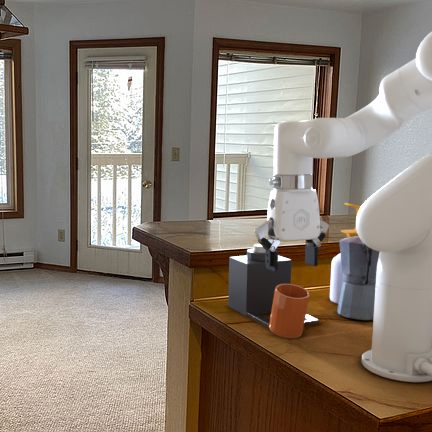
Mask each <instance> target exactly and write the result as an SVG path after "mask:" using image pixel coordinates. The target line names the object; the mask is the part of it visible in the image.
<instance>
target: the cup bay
mask: <svg viewBox="0 0 432 432" xmlns="http://www.w3.org/2000/svg"><path fill="white" fill-rule="evenodd" d="M245 317H247V318H248V319H250V320H251V321H254V322H256V323H257V324H259V325H261V326H263V327H265V328H266V329H268V330H270V328H269V323H270V318H267V317H265V316H263V315H262V314H258V313H256V312H254V311H253V312H246V316H245ZM317 325H320V319H318V318H316V317H314V316H311V315H309V314H307V313H306V318H305V323H304V327H309V326H317Z"/></svg>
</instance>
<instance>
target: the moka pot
mask: <svg viewBox="0 0 432 432" xmlns="http://www.w3.org/2000/svg"><path fill="white" fill-rule="evenodd" d="M339 250H340V253H341V266H342V272H343V280H344V282H343V284H342V290H341V294H340V299H339V304H337V308H336V309H337V310H336V312H337V314H338V316H339V315H340V316H341V317H344V318H346V319H352V320H357V321H373V319H374V303H375V287H376V272H377V263H378V257H379V253H380V252H379V251H376V250H373V249H371V248H369V247H368V246H366V245H365V244H364V243H363V242H362V241H361V239H360V238H359V236H356V237H344V238H341V239H340V240H339Z"/></svg>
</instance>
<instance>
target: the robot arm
mask: <svg viewBox="0 0 432 432" xmlns="http://www.w3.org/2000/svg"><path fill="white" fill-rule="evenodd" d="M429 110H432V31H430V32H429V33H428V34H427V35H426V36H425V37H424V38H423V39H422V41H420V43H419V46H418V47H417V50H416V53H415V58H413V59H412V60H410V61H408V62H407V63H405V64H404V65H402V66H400V67H399V68H397V69H395V70H394V71H392V72H391V73H389V74H387V75H385V76H384V77H383V78H382V79H381V80H380V83H379V94H377V97H376V98H374V100H372V101H371V102H370V103H368V104H367V105H365V106H364V107H362V108H360V109H359V110H357V111H356V112H353V113H352V114H350V115H348V116H346V117H316V118H310V119H307V120H286V121H285V120H284V121H280V122H278V123H276V125H275V126H274V131H273V178H269V181H268V183H269V186H273V190H271V191H270V195H269V200H268V206H267V217H266V221H265V222H263V223H262V224H260V225H259V226H257V227H256V228H254V230H253V233H254V234H255V235H254V236H256V239H257V242H258V244H261V245H262V246H263V249H265V264H266V268H267V269H270V270H273V271H277V270H278V256H279V252H278V250H277V248H278V246H279V245H280V244H281V242H284V243H285V242H286V243H287V242H288V243H289V242H299V241H300V242H301V241H306V243H307V244H305V247H304V248H305V249H304V250H305V252H304V256H305V257H304V263H305V264H306V265H309V266H312V267H318V264H319V261H318V260H319V248H320V247H321V245H322V242H323V240H324V239H325V238H326V234H327V232H328V229H329V227H330V225H329V223H327V222H325V221H324V220H322V219H320V218H321V215H320V204H319V198H318V194H317V190H316V189H313V176H314V159H332V158H348V157H352V156H355V155H357V154H359V153H362V152H364V151H366V150H368V149H369V148H372V147H373V146H375V145H377V144H379V143H381V142H383V141H384V140H387V139H388V138H389V137H390V136H392V135H394V134H395V133H396V132H398V131H399V130H400V129H402V128H403V127H404V126H406V125H407V124H408V123H409V122H410V121H411V120H413V119H415V118H416V117H419V116H420V115H423V113H427V111H429ZM360 207H361V208H360V210H359V212H358V214H357V213H356V218H355V227H356V230H357V234H358V236H359V238H360V239H361V241H362V242H363V243H364V244H365V245H366V246H368V247H369V248H371V249H373V250H376V251H379V252H380V253H379V257H378V263H377V272H376V287H375V303H374V319H373V320H372V321H373V322H372V337H371V349H369V350H367V351H365V352H363V353H362V355H361V364H362V366H363V367H364V368H365V369H367V370H368V371H369V372H371V373H373V374H375V375H377V376H380V377H383V378H386V379H389V380H394V381H399V382H405V383H426V382H427V383H428V382H431V381H432V152H430V153H428V154H426V155H425V156H423V157H421V158H419V159H418V160H416V161H414V162H413V163H412V164H411V165H409V166H407V168H405V169H404V170H403V171H402V172H400V173H399V174H398V175H396V176H395V177H394V178H393V179H391V180H390V181H389V182H387V183H386V184H385V185H383V186H382V187H381V188H380V189H378V190H377V191H375V193H373V194H372V195H370V197H368V198H367V200H365V201H364V203H362V205H361V206H360ZM265 233H267V234H265ZM266 235H267V237H266Z"/></svg>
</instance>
